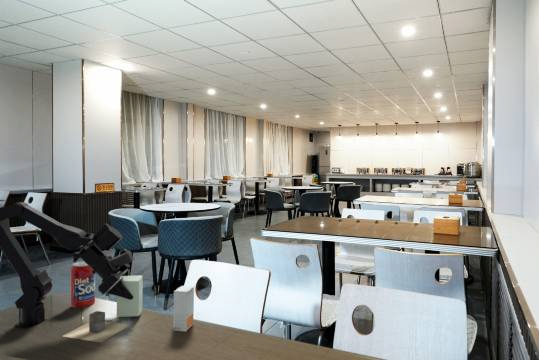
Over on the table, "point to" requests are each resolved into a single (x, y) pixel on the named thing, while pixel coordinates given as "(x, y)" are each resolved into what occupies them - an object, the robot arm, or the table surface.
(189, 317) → the skincare box
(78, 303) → the soda can
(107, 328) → the birch base
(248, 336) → the table surface
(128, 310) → the pale green carton
